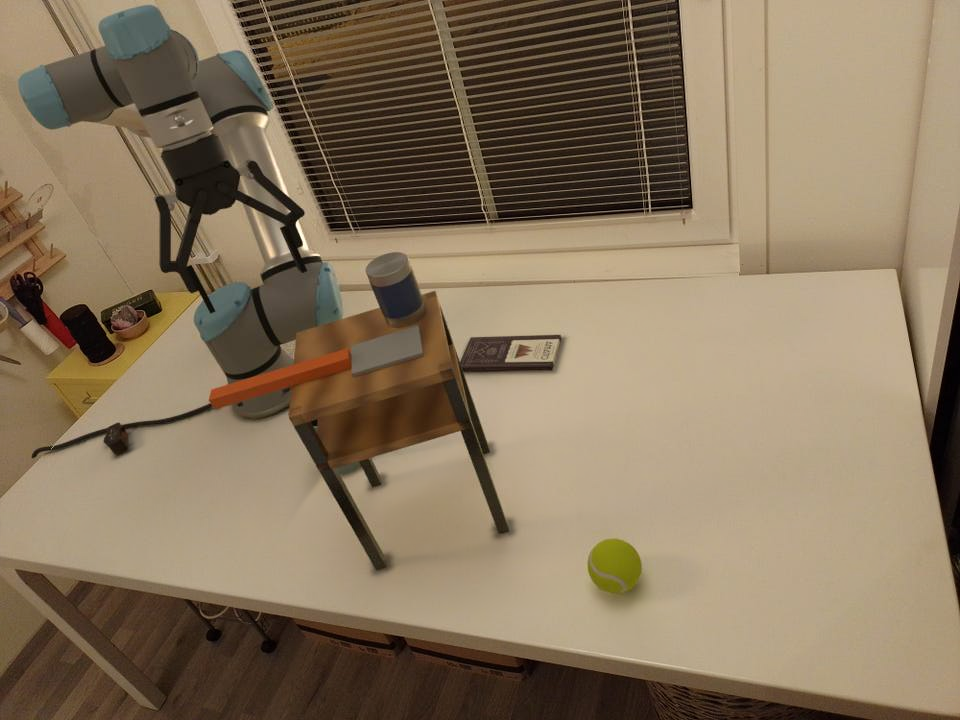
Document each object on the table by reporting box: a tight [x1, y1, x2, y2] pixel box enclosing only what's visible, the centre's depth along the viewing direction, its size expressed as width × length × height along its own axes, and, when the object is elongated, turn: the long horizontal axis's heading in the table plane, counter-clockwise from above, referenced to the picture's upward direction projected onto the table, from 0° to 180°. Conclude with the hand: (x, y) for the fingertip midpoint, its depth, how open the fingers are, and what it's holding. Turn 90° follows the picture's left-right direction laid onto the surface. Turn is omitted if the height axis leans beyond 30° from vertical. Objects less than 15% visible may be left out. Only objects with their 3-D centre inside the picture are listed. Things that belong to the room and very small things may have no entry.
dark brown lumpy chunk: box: [103, 422, 129, 456], centre depth 139 cm, size 5×7×3 cm, turn 25°
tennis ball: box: [587, 538, 643, 594], centre depth 88 cm, size 7×7×7 cm
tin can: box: [365, 251, 426, 328], centre depth 91 cm, size 6×6×8 cm
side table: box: [288, 290, 510, 571], centre depth 99 cm, size 20×18×31 cm
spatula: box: [208, 326, 424, 410], centre depth 87 cm, size 27×6×2 cm, turn 99°
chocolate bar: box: [459, 334, 562, 372], centre depth 131 cm, size 9×1×18 cm
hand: (258, 290), depth 99 cm, fingers open, 13 cm apart
